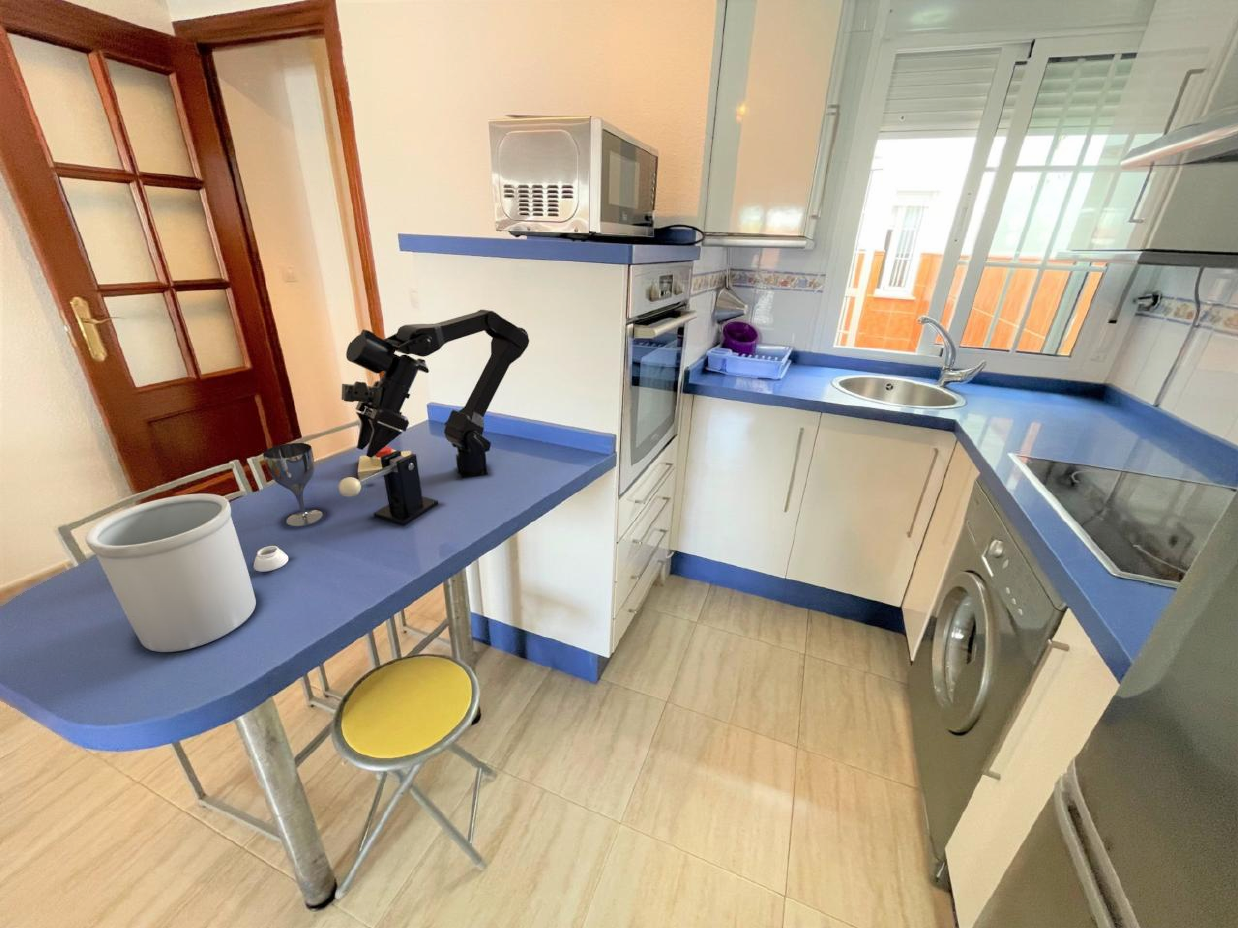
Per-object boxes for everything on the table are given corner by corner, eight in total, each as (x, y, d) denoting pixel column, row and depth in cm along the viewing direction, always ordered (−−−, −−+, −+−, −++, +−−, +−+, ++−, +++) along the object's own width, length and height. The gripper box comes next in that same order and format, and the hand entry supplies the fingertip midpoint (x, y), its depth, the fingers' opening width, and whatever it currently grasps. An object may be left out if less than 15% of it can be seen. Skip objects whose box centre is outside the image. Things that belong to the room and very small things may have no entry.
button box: (411, 456, 132) (409, 444, 131) (412, 471, 124) (410, 458, 123) (360, 462, 128) (358, 449, 127) (358, 478, 120) (356, 464, 118)
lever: (350, 501, 90) (347, 483, 88) (335, 497, 91) (332, 479, 90) (412, 471, 103) (410, 455, 101) (399, 468, 104) (396, 452, 103)
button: (392, 452, 127) (391, 445, 126) (392, 457, 124) (391, 450, 123) (376, 453, 126) (375, 447, 125) (376, 459, 123) (375, 452, 122)
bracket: (404, 526, 100) (394, 468, 95) (374, 518, 103) (363, 461, 98) (438, 505, 109) (431, 450, 104) (409, 497, 112) (401, 444, 106)
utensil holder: (127, 619, 74) (80, 516, 67) (246, 576, 85) (215, 483, 77) (142, 673, 65) (89, 562, 58) (273, 618, 75) (241, 517, 68)
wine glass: (336, 514, 104) (320, 447, 98) (299, 532, 97) (280, 461, 91) (310, 505, 107) (293, 440, 101) (273, 522, 100) (253, 453, 94)
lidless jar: (273, 554, 90) (247, 570, 86) (269, 540, 89) (242, 556, 85) (295, 559, 89) (270, 575, 85) (291, 545, 88) (266, 561, 84)
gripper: (346, 363, 105) (315, 431, 104) (365, 366, 90) (328, 446, 89) (398, 386, 112) (369, 450, 111) (423, 393, 97) (390, 467, 96)
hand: (364, 452), depth 102 cm, fingers open, 9 cm apart
